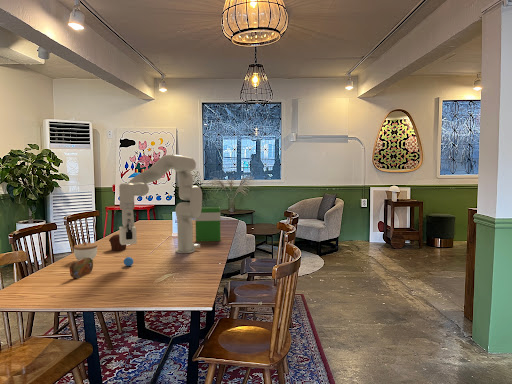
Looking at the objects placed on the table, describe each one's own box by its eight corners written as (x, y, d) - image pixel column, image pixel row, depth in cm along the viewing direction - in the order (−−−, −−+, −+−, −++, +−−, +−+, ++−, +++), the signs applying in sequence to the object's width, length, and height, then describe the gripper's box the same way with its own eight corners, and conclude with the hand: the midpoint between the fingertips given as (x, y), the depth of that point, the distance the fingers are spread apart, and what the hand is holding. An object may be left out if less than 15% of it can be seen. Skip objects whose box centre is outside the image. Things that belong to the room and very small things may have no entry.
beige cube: (134, 241, 209) (133, 225, 209) (136, 243, 203) (136, 227, 202) (119, 242, 206) (119, 226, 205) (121, 245, 199) (121, 228, 198)
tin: (74, 280, 180) (73, 263, 179) (68, 280, 181) (67, 263, 180) (93, 271, 195) (93, 255, 194) (88, 271, 195) (87, 255, 195)
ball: (121, 261, 205) (128, 266, 207) (122, 263, 201) (129, 269, 203) (127, 254, 207) (134, 259, 209) (129, 256, 202) (136, 261, 204)
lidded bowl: (85, 257, 226) (85, 239, 225) (102, 258, 222) (101, 240, 221) (69, 262, 214) (68, 243, 213) (86, 264, 210) (85, 244, 209)
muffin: (127, 247, 254) (126, 232, 253) (129, 250, 244) (128, 235, 243) (108, 248, 248) (107, 234, 248) (109, 252, 239) (109, 236, 238)
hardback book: (195, 241, 271) (195, 208, 270) (197, 239, 279) (196, 207, 277) (220, 240, 272) (219, 208, 271) (220, 238, 280) (220, 207, 278)
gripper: (137, 207, 197) (138, 240, 198) (131, 204, 212) (132, 234, 213) (122, 207, 193) (123, 241, 194) (117, 204, 209) (118, 236, 210)
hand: (128, 237), depth 204 cm, fingers closed on beige cube, 7 cm apart
